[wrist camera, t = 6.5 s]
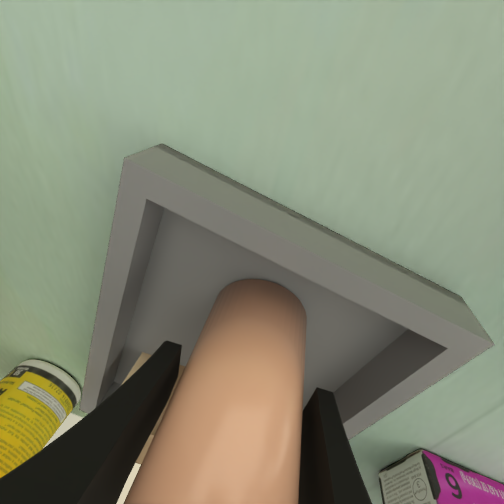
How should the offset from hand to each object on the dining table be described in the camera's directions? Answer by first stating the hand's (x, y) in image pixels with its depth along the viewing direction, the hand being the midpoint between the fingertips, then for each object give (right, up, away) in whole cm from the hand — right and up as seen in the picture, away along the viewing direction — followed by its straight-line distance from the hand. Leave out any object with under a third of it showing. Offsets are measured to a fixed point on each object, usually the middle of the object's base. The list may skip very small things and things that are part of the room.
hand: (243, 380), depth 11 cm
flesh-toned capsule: (+1, +2, +3) cm, 4 cm away
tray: (-1, -1, +5) cm, 5 cm away
